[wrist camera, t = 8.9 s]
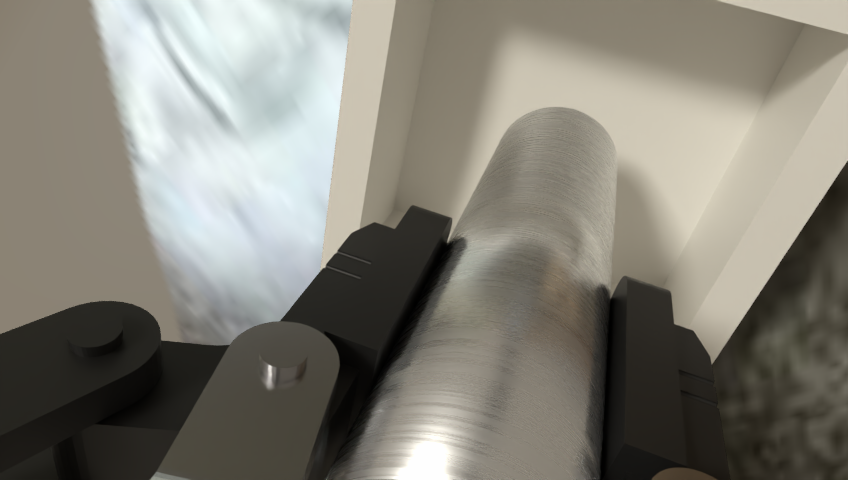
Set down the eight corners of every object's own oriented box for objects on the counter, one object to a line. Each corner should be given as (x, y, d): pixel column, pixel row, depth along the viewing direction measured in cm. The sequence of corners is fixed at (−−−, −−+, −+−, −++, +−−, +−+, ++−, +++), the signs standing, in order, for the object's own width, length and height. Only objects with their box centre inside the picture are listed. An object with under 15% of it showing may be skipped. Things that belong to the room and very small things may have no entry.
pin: (493, 54, 14) (40, 609, 3) (680, 108, 13) (870, 1008, 3) (452, 211, 16) (114, 823, 6) (609, 263, 16) (558, 1058, 5)
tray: (431, -141, 15) (370, -148, 12) (874, -33, 14) (956, -5, 10) (370, 213, 21) (319, 278, 18) (673, 315, 20) (682, 408, 16)
